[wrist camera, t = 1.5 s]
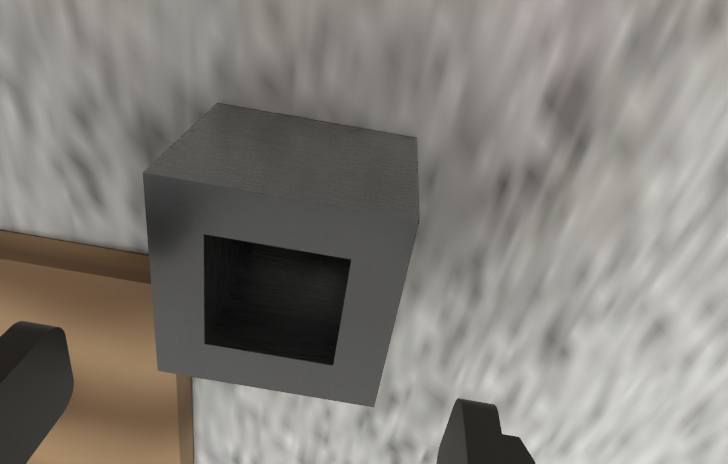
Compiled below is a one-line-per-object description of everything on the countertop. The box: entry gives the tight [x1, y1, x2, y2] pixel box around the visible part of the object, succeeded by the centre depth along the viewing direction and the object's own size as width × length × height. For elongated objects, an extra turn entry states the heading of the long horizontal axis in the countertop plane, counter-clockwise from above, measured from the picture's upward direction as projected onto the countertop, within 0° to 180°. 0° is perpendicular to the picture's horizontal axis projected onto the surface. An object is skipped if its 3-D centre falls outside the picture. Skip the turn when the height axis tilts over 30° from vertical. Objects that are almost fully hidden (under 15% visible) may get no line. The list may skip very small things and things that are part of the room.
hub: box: [143, 103, 419, 407], centre depth 15 cm, size 6×6×5 cm
